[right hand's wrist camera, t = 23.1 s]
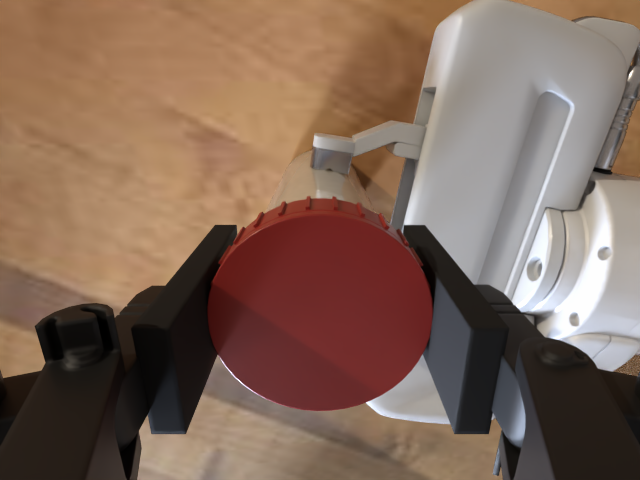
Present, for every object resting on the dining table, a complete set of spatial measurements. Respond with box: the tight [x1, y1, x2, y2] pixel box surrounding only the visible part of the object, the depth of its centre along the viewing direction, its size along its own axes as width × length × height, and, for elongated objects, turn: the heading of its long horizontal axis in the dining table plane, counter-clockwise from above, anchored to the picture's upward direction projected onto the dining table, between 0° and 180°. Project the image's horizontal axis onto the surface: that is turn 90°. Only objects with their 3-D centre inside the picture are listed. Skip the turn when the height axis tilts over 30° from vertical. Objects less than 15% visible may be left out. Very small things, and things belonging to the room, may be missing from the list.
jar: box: [265, 150, 375, 213], centre depth 18 cm, size 5×5×15 cm
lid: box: [207, 196, 433, 411], centre depth 11 cm, size 6×6×2 cm
